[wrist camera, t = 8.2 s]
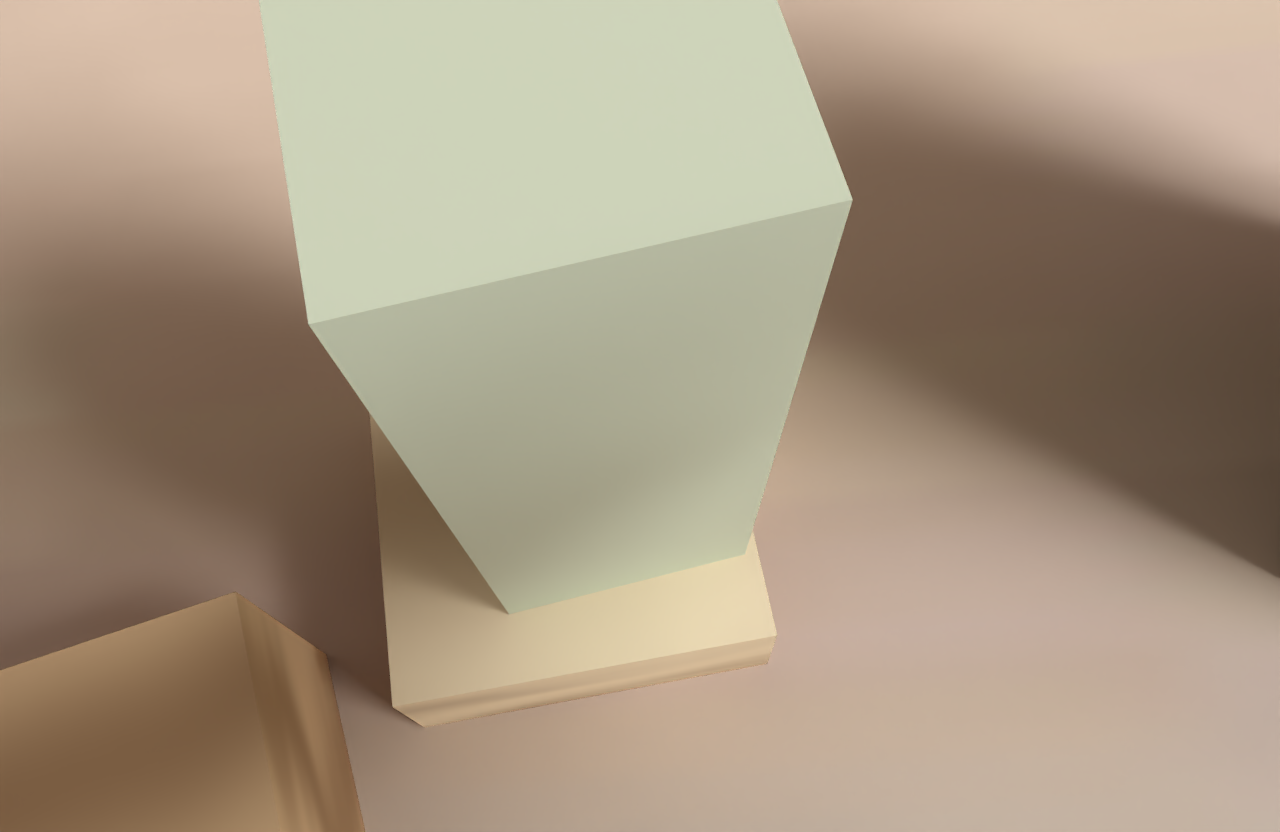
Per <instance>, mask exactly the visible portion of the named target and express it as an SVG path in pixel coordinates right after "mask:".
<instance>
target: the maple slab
mask: <svg viewBox="0 0 1280 832" xmlns="http://www.w3.org/2000/svg"><path fill="white" fill-rule="evenodd" d="M369 414H370V413H369ZM370 427H371V440H372V453H373V465H374V478H375V491H376V504H377V516H378V529H379V542H380V555H381V567H382V580H383V593H384V606H385V619H386V631H387V644H388V657H389V670H390V682H391V695H392V707H393V708H395V709H396V710H398V711H400V712H401V713H403V714H404V715H406V716H407V717H409V718H410V719H412V720H413V721H415V722H417V723H418V724H420V725H421V726H423V727H424V728H425V727H430V726H436V725H441V724H447V723H452V722H457V721H463V720H468V719H473V718H479V717H484V716H490V715H495V714H500V713H506V712H511V711H516V710H522V709H527V708H533V707H538V706H543V705H549V704H554V703H559V702H565V701H570V700H575V699H581V698H586V697H592V696H597V695H602V694H608V693H613V692H618V691H624V690H629V689H635V688H640V687H645V686H651V685H656V684H661V683H667V682H672V681H678V680H683V679H688V678H694V677H699V676H704V675H710V674H715V673H721V672H726V671H731V670H737V669H742V668H747V667H753V666H758V665H764V664H767V663H768V660H769V657H770V654H771V651H772V649H773V646H774V643H775V640H776V637H777V633H776V628H775V624H774V620H773V615H772V611H771V607H770V602H769V598H768V594H767V589H766V585H765V581H764V576H763V572H762V568H761V563H760V559H759V555H758V550H757V546H756V542H755V538H754V533H753V530H752V533H751V536H750V539H749V543H748V546H747V549H746V553H745V555H741V556H737V557H733V558H729V559H725V560H721V561H717V562H713V563H709V564H705V565H701V566H697V567H693V568H690V569H686V570H682V571H678V572H674V573H670V574H666V575H662V576H658V577H654V578H650V579H646V580H642V581H638V582H635V583H631V584H627V585H623V586H619V587H615V588H611V589H607V590H603V591H599V592H595V593H591V594H587V595H583V596H579V597H575V598H571V599H567V600H564V601H560V602H556V603H552V604H548V605H544V606H540V607H536V608H532V609H528V610H524V611H520V612H516V613H512V614H509V613H508V612H507V610H506V609H505V608H504V606H503V605H502V603H501V602H500V600H499V599H498V597H497V596H496V595H495V593H494V592H493V590H492V589H491V587H490V586H489V584H488V583H487V582H486V580H485V579H484V577H483V576H482V574H481V573H480V571H479V570H478V569H477V567H476V566H475V564H474V563H473V561H472V560H471V558H470V557H469V556H468V554H467V553H466V551H465V550H464V548H463V547H462V545H461V544H460V543H459V541H458V540H457V538H456V537H455V535H454V534H453V532H452V531H451V530H450V528H449V527H448V525H447V524H446V522H445V521H444V519H443V518H442V517H441V515H440V514H439V512H438V511H437V509H436V508H435V506H434V505H433V504H432V502H431V501H430V499H429V498H428V496H427V495H426V493H425V492H424V491H423V489H422V488H421V486H420V485H419V483H418V482H417V480H416V479H415V478H414V476H413V475H412V473H411V472H410V470H409V469H408V467H407V466H406V465H405V463H404V462H403V460H402V459H401V457H400V456H399V454H398V453H397V452H396V450H395V449H394V447H393V446H392V444H391V443H390V441H389V440H388V439H387V437H386V436H385V434H384V433H383V431H382V430H381V428H380V427H379V426H378V424H377V423H376V421H375V420H374V418H373V417H372V415H371V414H370Z"/></svg>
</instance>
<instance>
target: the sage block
mask: <svg viewBox="0 0 1280 832" xmlns="http://www.w3.org/2000/svg"><path fill="white" fill-rule="evenodd" d="M259 4H260V11H261V18H262V24H263V31H264V37H265V44H266V50H267V57H268V63H269V70H270V76H271V83H272V90H273V96H274V103H275V109H276V116H277V122H278V129H279V135H280V142H281V148H282V155H283V162H284V168H285V175H286V181H287V188H288V194H289V201H290V207H291V214H292V220H293V227H294V234H295V240H296V247H297V253H298V260H299V266H300V273H301V279H302V286H303V292H304V299H305V306H306V312H307V319H308V325H309V326H310V327H311V329H312V330H313V332H314V333H315V335H316V336H317V338H318V339H319V340H320V342H321V343H322V345H323V346H324V348H325V349H326V351H327V352H328V353H329V355H330V356H331V358H332V359H333V361H334V362H335V364H336V365H337V366H338V368H339V369H340V371H341V372H342V374H343V375H344V377H345V378H346V379H347V381H348V382H349V384H350V385H351V387H352V388H353V390H354V391H355V392H356V394H357V395H358V397H359V398H360V400H361V401H362V403H363V404H364V405H365V407H366V408H367V410H368V411H369V413H370V414H371V415H372V417H373V418H374V420H375V421H376V423H377V424H378V426H379V427H380V428H381V430H382V431H383V433H384V434H385V436H386V437H387V439H388V440H389V441H390V443H391V444H392V446H393V447H394V449H395V450H396V452H397V453H398V454H399V456H400V457H401V459H402V460H403V462H404V463H405V465H406V466H407V467H408V469H409V470H410V472H411V473H412V475H413V476H414V478H415V479H416V480H417V482H418V483H419V485H420V486H421V488H422V489H423V491H424V492H425V493H426V495H427V496H428V498H429V499H430V501H431V502H432V504H433V505H434V506H435V508H436V509H437V511H438V512H439V514H440V515H441V517H442V518H443V519H444V521H445V522H446V524H447V525H448V527H449V528H450V530H451V531H452V532H453V534H454V535H455V537H456V538H457V540H458V541H459V543H460V544H461V545H462V547H463V548H464V550H465V551H466V553H467V554H468V556H469V557H470V558H471V560H472V561H473V563H474V564H475V566H476V567H477V569H478V570H479V571H480V573H481V574H482V576H483V577H484V579H485V580H486V582H487V583H488V584H489V586H490V587H491V589H492V590H493V592H494V593H495V595H496V596H497V597H498V599H499V600H500V602H501V603H502V605H503V606H504V608H505V609H506V610H507V612H508V613H509V614H512V613H516V612H520V611H524V610H528V609H532V608H536V607H540V606H544V605H548V604H552V603H556V602H560V601H564V600H567V599H571V598H575V597H579V596H583V595H587V594H591V593H595V592H599V591H603V590H607V589H611V588H615V587H619V586H623V585H627V584H631V583H635V582H638V581H642V580H646V579H650V578H654V577H658V576H662V575H666V574H670V573H674V572H678V571H682V570H686V569H690V568H693V567H697V566H701V565H705V564H709V563H713V562H717V561H721V560H725V559H729V558H733V557H737V556H741V555H745V553H746V549H747V546H748V543H749V539H750V536H751V533H752V530H753V526H754V523H755V520H756V516H757V513H758V510H759V507H760V503H761V500H762V497H763V493H764V490H765V487H766V484H767V480H768V477H769V474H770V470H771V467H772V464H773V460H774V457H775V454H776V451H777V447H778V444H779V441H780V437H781V434H782V431H783V428H784V424H785V421H786V418H787V414H788V411H789V408H790V405H791V401H792V398H793V395H794V391H795V388H796V385H797V382H798V378H799V375H800V372H801V368H802V365H803V362H804V358H805V355H806V352H807V349H808V345H809V342H810V339H811V335H812V332H813V329H814V326H815V322H816V319H817V316H818V312H819V309H820V306H821V303H822V299H823V296H824V293H825V289H826V286H827V283H828V280H829V276H830V273H831V270H832V266H833V263H834V260H835V256H836V253H837V250H838V247H839V243H840V240H841V237H842V233H843V230H844V227H845V224H846V220H847V217H848V214H849V210H850V207H851V204H852V201H853V199H852V196H851V194H850V191H849V188H848V186H847V183H846V180H845V178H844V175H843V173H842V170H841V167H840V165H839V162H838V159H837V157H836V154H835V151H834V149H833V146H832V144H831V141H830V138H829V136H828V133H827V130H826V128H825V125H824V123H823V120H822V117H821V115H820V112H819V109H818V107H817V104H816V101H815V99H814V96H813V94H812V91H811V88H810V86H809V83H808V80H807V78H806V75H805V73H804V70H803V67H802V65H801V62H800V59H799V57H798V54H797V52H796V49H795V46H794V44H793V41H792V38H791V36H790V33H789V30H788V28H787V25H786V23H785V20H784V17H783V15H782V12H781V9H780V7H779V4H778V2H777V0H259Z"/></svg>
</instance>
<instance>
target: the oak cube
mask: <svg viewBox="0 0 1280 832" xmlns="http://www.w3.org/2000/svg"><path fill="white" fill-rule="evenodd" d="M0 832H365V828H364V823H363V819H362V814H361V810H360V805H359V801H358V796H357V792H356V787H355V783H354V778H353V773H352V769H351V764H350V760H349V755H348V751H347V746H346V742H345V737H344V733H343V728H342V724H341V719H340V715H339V710H338V706H337V701H336V697H335V692H334V688H333V683H332V679H331V674H330V669H329V665H328V660H327V656H326V654H325V653H323V652H322V651H320V650H319V649H317V648H316V647H314V646H313V645H312V644H310V643H309V642H307V641H306V640H304V639H303V638H302V637H300V636H299V635H297V634H296V633H294V632H293V631H291V630H290V629H289V628H287V627H286V626H284V625H283V624H281V623H280V622H278V621H277V620H276V619H274V618H273V617H271V616H270V615H268V614H267V613H265V612H264V611H263V610H261V609H260V608H258V607H257V606H255V605H254V604H253V603H251V602H250V601H248V600H247V599H245V598H244V597H242V596H241V595H240V594H238V593H237V592H233V593H230V594H227V595H224V596H221V597H218V598H215V599H212V600H209V601H206V602H203V603H200V604H197V605H194V606H191V607H188V608H185V609H182V610H179V611H176V612H173V613H170V614H167V615H164V616H161V617H158V618H155V619H152V620H149V621H146V622H143V623H140V624H137V625H134V626H131V627H128V628H125V629H122V630H119V631H116V632H113V633H110V634H107V635H104V636H101V637H98V638H95V639H92V640H89V641H86V642H83V643H80V644H77V645H74V646H71V647H68V648H65V649H62V650H59V651H56V652H53V653H50V654H47V655H44V656H41V657H38V658H35V659H32V660H29V661H26V662H23V663H20V664H17V665H14V666H11V667H8V668H5V669H2V670H0Z"/></svg>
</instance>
